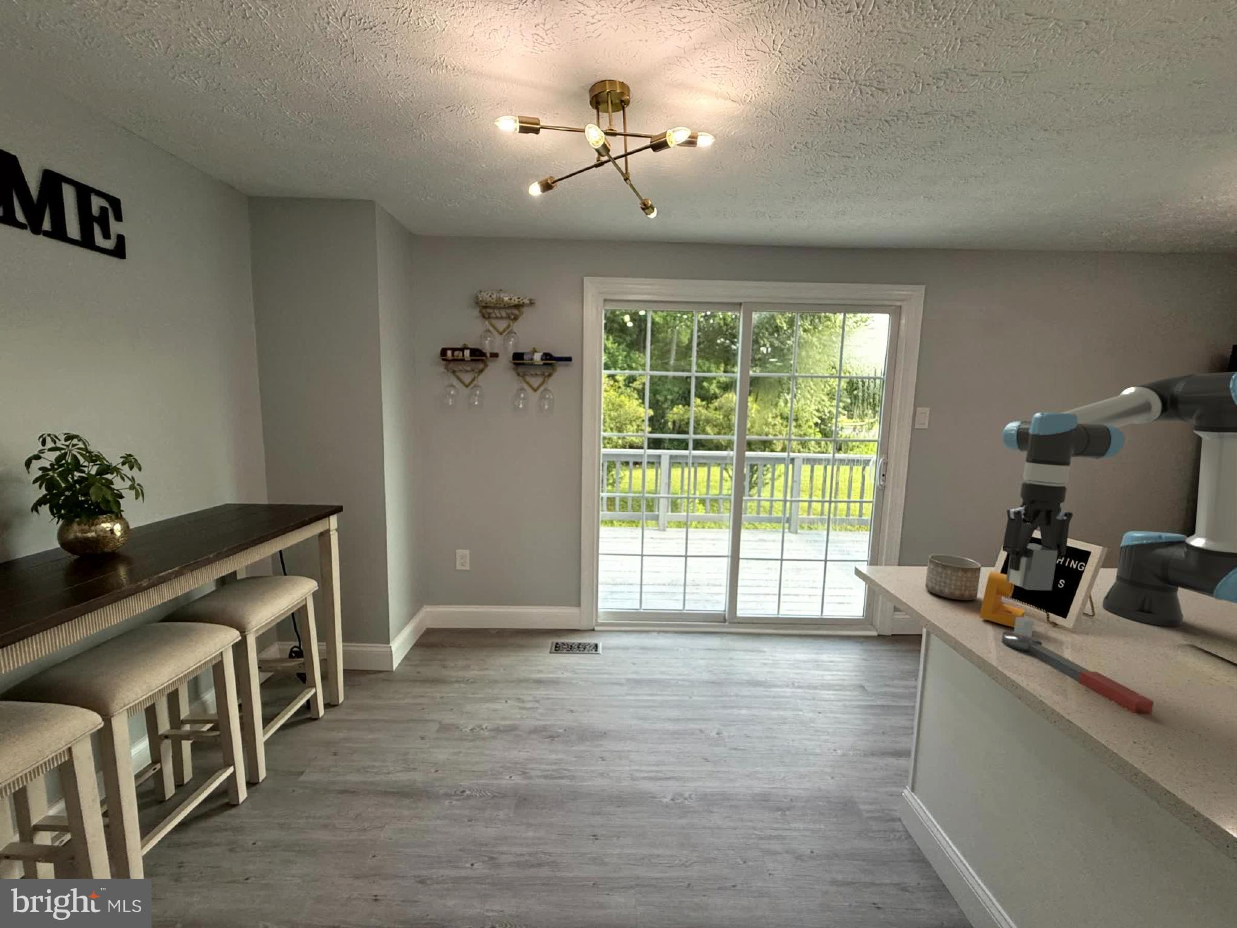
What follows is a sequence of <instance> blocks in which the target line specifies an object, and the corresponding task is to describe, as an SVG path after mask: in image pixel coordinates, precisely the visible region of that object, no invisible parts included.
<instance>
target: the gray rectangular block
mask: <svg viewBox="0 0 1237 928" xmlns="http://www.w3.org/2000/svg"><path fill="white" fill-rule="evenodd" d="M1017 550H1018V549H1017ZM1057 553H1058V551H1057V550H1054V549H1051V548H1047V547H1044V546H1042V544H1038V543H1030V542H1029V544H1028V546H1027V549H1026V551H1025V553H1024V556H1023V557H1025V558H1027V559H1026V566H1025V573H1024V579H1023V586H1019V587H1020V588H1023V589H1024V590H1027V591H1033V590H1034V591H1052V590H1053V583H1054V576H1055V570H1056V564H1057V560H1058V559H1057ZM1010 557H1011V555H1010V554H1009V559H1008V567H1007V573H1006V575H1007V579H1006V581H1008V582H1009V578H1010V572H1011V569H1010V568H1009V564H1010Z"/></svg>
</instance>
